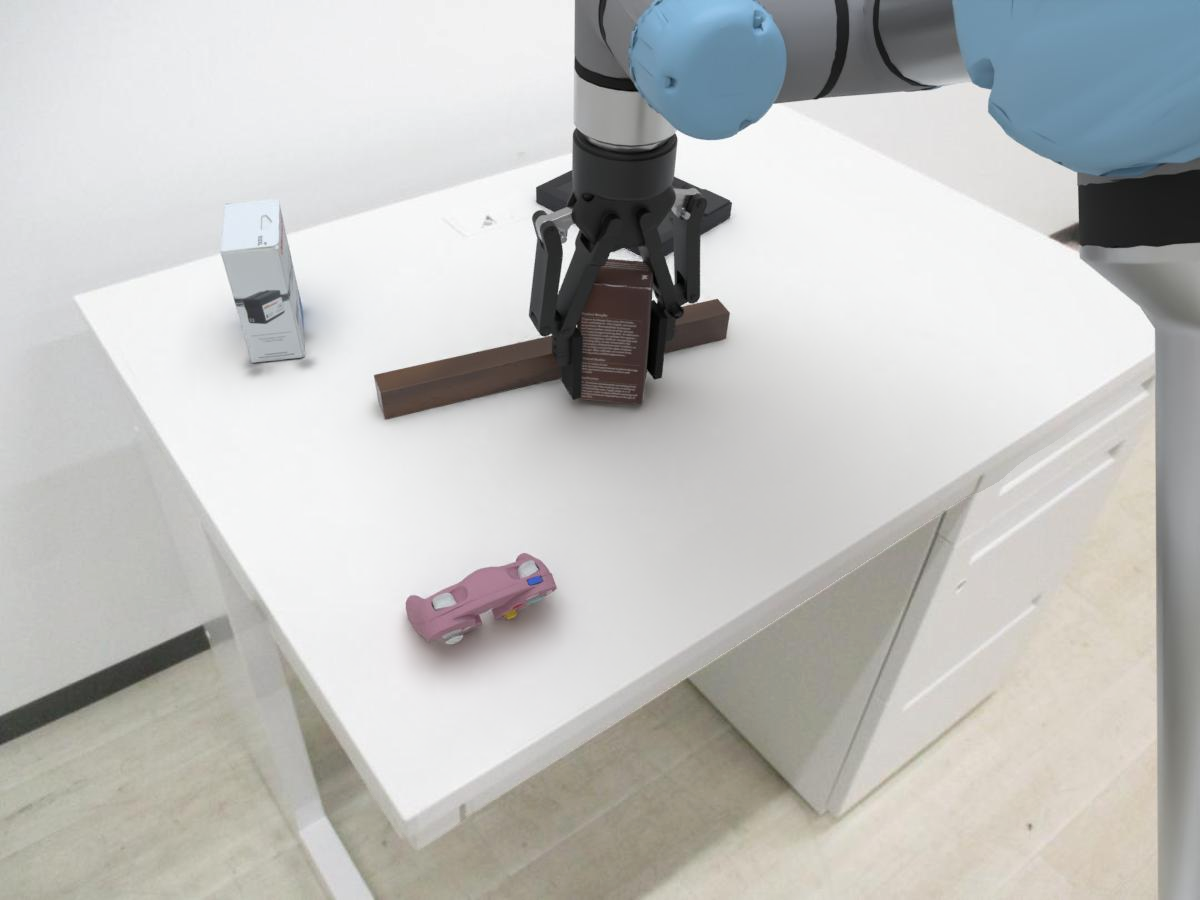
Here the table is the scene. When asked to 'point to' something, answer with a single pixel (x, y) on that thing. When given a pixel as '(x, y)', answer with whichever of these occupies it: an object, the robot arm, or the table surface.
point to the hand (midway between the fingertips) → (611, 379)
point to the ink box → (262, 279)
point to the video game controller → (480, 598)
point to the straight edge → (515, 366)
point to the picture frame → (716, 212)
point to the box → (617, 333)
